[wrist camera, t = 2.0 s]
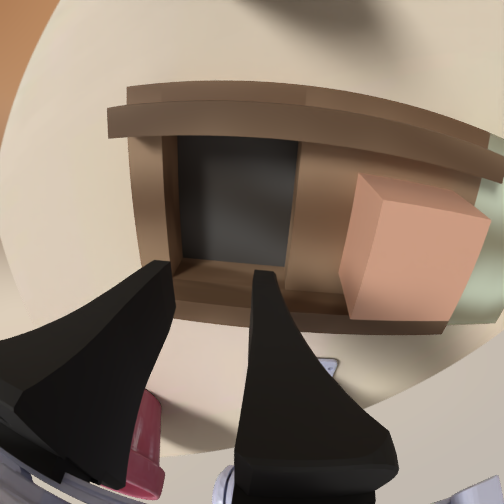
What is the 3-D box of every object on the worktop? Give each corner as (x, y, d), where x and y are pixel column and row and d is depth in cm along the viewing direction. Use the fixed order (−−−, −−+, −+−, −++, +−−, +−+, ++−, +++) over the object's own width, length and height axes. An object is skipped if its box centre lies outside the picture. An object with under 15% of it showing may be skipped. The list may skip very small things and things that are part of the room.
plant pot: (187, 388, 29) (159, 492, 18) (177, 432, 37) (159, 506, 25) (73, 345, 29) (25, 431, 18) (90, 399, 36) (60, 466, 25)
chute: (481, 301, 21) (505, 338, 16) (162, 279, 22) (138, 323, 18) (532, 154, 14) (573, 175, 9) (149, 86, 15) (107, 87, 11)
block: (424, 279, 17) (448, 320, 13) (338, 272, 17) (350, 319, 13) (453, 190, 14) (491, 220, 10) (358, 172, 14) (383, 200, 10)
